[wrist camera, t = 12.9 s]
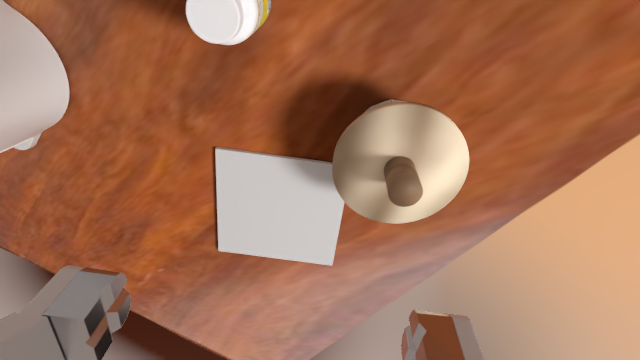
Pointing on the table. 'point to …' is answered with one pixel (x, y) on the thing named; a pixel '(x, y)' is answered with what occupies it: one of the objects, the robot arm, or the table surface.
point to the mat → (276, 206)
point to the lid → (400, 162)
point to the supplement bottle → (226, 19)
